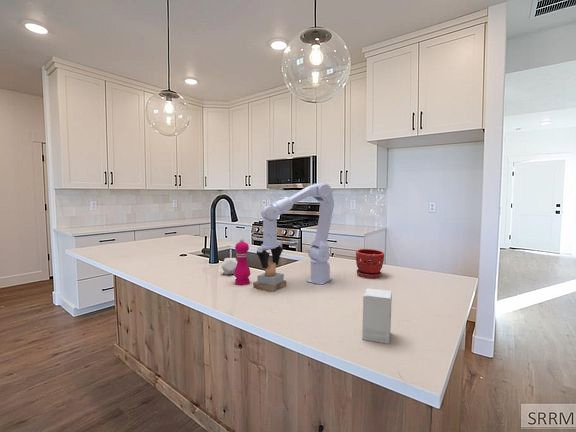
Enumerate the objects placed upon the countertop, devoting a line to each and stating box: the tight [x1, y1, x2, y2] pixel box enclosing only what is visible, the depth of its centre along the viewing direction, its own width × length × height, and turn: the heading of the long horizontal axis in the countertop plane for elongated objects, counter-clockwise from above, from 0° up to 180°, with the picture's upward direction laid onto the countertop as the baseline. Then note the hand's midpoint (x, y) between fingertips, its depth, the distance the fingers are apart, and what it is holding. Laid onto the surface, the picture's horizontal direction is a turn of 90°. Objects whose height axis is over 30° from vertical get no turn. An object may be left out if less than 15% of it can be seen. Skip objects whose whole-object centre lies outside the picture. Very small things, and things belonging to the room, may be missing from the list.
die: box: [221, 257, 238, 276], centre depth 154 cm, size 8×9×10 cm
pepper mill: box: [234, 238, 251, 286], centre depth 139 cm, size 7×7×20 cm
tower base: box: [253, 280, 287, 293], centre depth 134 cm, size 10×10×3 cm
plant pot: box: [355, 248, 385, 279], centre depth 151 cm, size 13×13×12 cm
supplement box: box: [361, 288, 393, 344], centre depth 88 cm, size 7×7×13 cm
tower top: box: [256, 272, 285, 286], centre depth 133 cm, size 8×8×3 cm
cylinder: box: [264, 261, 277, 276], centre depth 133 cm, size 4×4×5 cm
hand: (270, 266), depth 133 cm, fingers open, 7 cm apart
